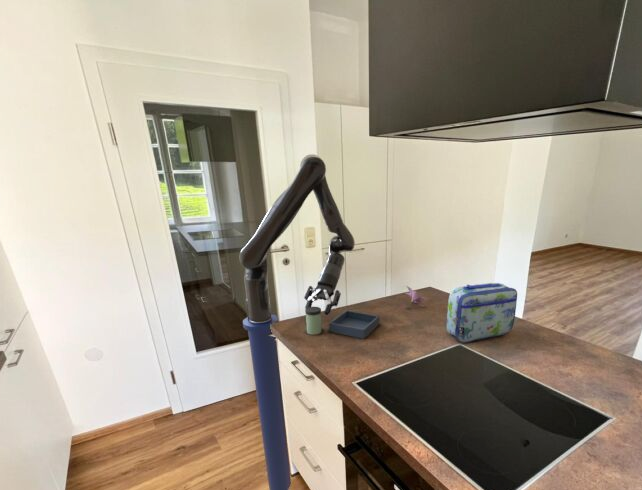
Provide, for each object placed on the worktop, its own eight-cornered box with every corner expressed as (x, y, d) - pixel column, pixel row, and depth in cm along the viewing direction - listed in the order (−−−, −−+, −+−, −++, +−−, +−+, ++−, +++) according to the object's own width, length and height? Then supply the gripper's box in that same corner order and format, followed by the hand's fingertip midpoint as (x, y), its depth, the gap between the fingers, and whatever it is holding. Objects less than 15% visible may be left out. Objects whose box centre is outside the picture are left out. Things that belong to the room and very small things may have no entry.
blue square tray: (329, 331, 143) (328, 322, 141) (346, 318, 155) (346, 310, 154) (363, 338, 137) (364, 329, 136) (379, 324, 150) (379, 315, 148)
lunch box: (455, 346, 133) (462, 292, 124) (441, 334, 142) (446, 283, 134) (514, 337, 140) (524, 286, 132) (497, 326, 149) (505, 278, 141)
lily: (426, 314, 163) (433, 294, 163) (403, 305, 160) (411, 285, 160) (416, 312, 175) (423, 294, 175) (395, 304, 172) (401, 285, 172)
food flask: (303, 333, 141) (302, 310, 137) (311, 327, 146) (310, 305, 142) (316, 335, 139) (315, 313, 135) (324, 330, 144) (323, 308, 140)
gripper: (311, 270, 146) (296, 305, 141) (342, 274, 141) (328, 311, 136) (318, 279, 152) (305, 313, 147) (348, 283, 147) (335, 319, 142)
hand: (316, 312), depth 141 cm, fingers open, 8 cm apart
